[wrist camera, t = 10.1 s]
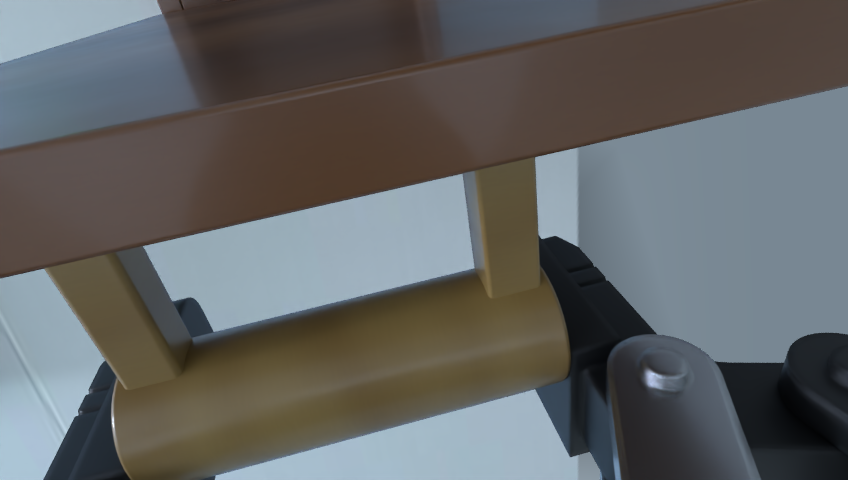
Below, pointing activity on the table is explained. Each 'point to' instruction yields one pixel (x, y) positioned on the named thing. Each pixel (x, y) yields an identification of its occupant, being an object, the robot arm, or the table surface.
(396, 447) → the table surface
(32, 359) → the table surface
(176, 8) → the chest
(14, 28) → the table surface
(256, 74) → the lid
